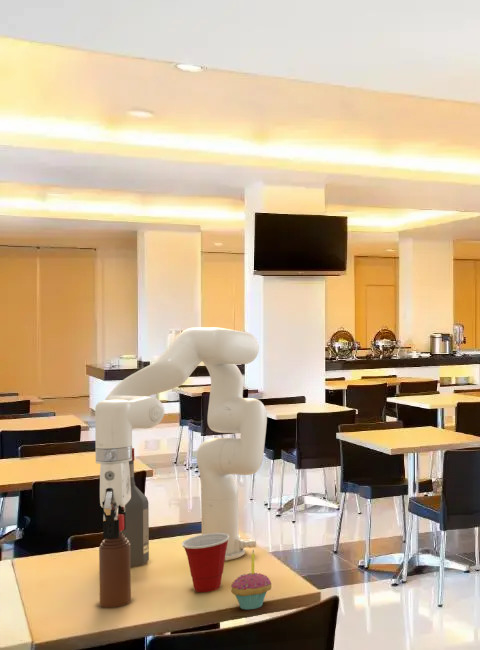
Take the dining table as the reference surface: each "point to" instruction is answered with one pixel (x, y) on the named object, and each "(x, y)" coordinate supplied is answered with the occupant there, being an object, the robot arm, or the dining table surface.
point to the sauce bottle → (115, 572)
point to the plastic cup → (206, 560)
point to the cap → (121, 522)
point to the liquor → (137, 523)
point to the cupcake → (251, 588)
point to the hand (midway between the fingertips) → (114, 533)
